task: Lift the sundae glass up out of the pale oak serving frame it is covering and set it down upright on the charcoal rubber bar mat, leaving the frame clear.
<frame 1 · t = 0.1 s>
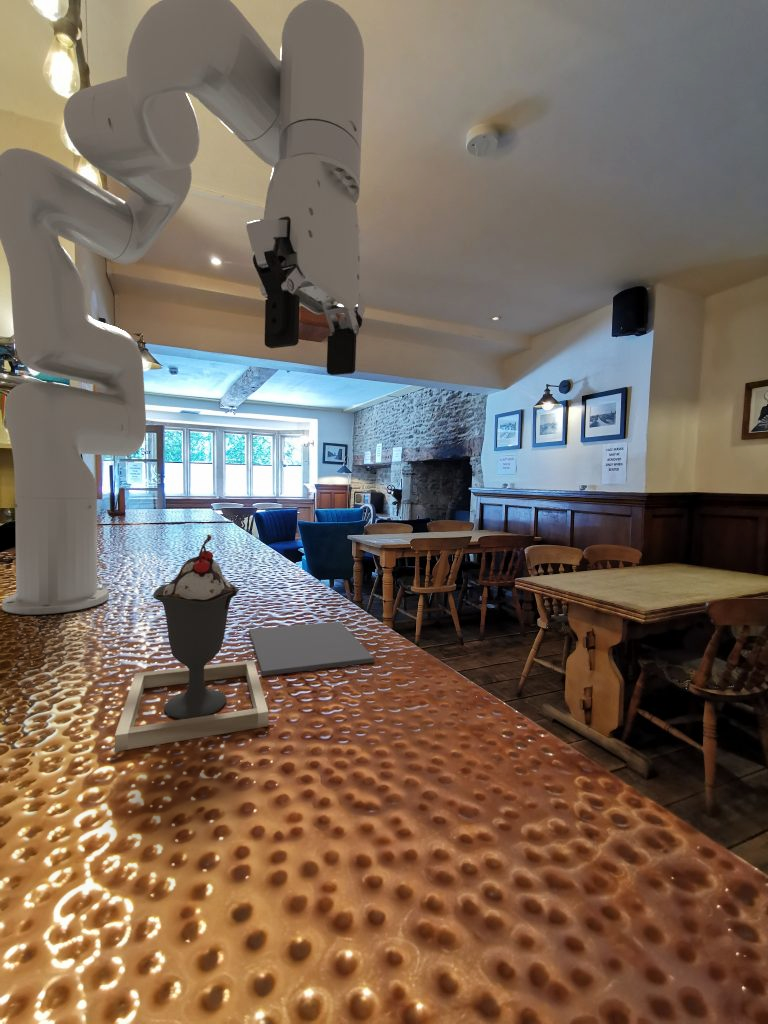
hand: (314, 361, 42), 31 cm above the worktop, tool pointing down, fingers open, 9 cm apart
sundae: (196, 706, 38), resting in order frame
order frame: (196, 704, 38), on the worktop
bar mat: (307, 646, 52), on the worktop
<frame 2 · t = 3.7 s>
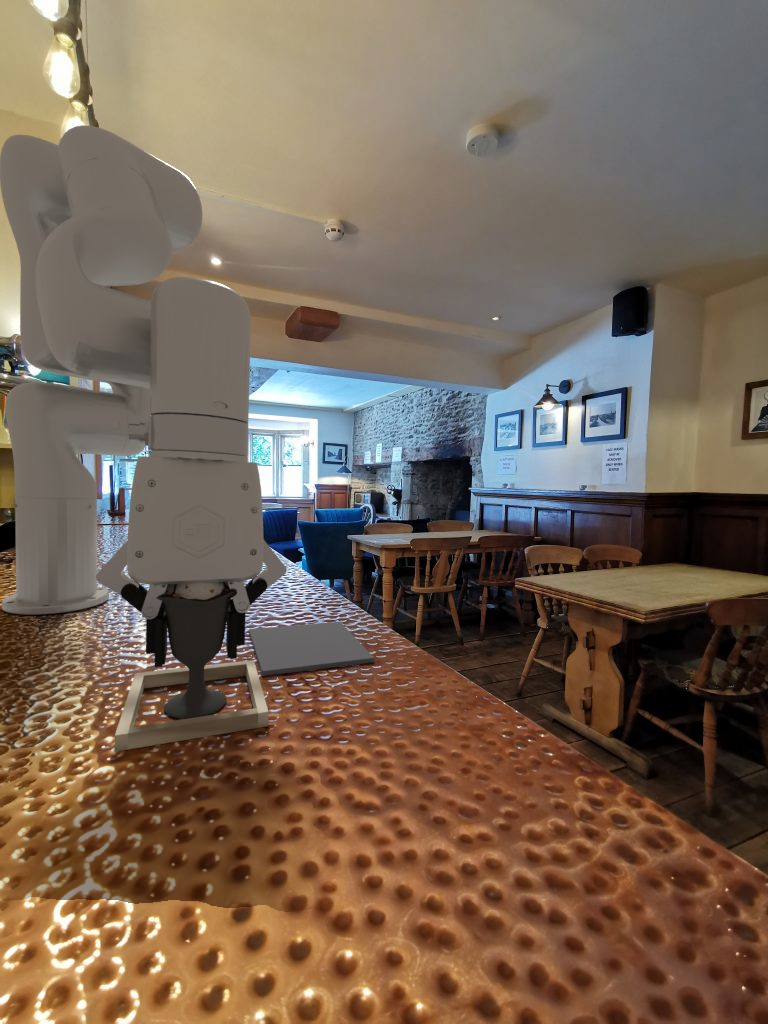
hand: (197, 654, 38), 4 cm above the worktop, tool pointing down, fingers closed on sundae, 4 cm apart
sundae: (196, 706, 38), resting in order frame, touching gripper
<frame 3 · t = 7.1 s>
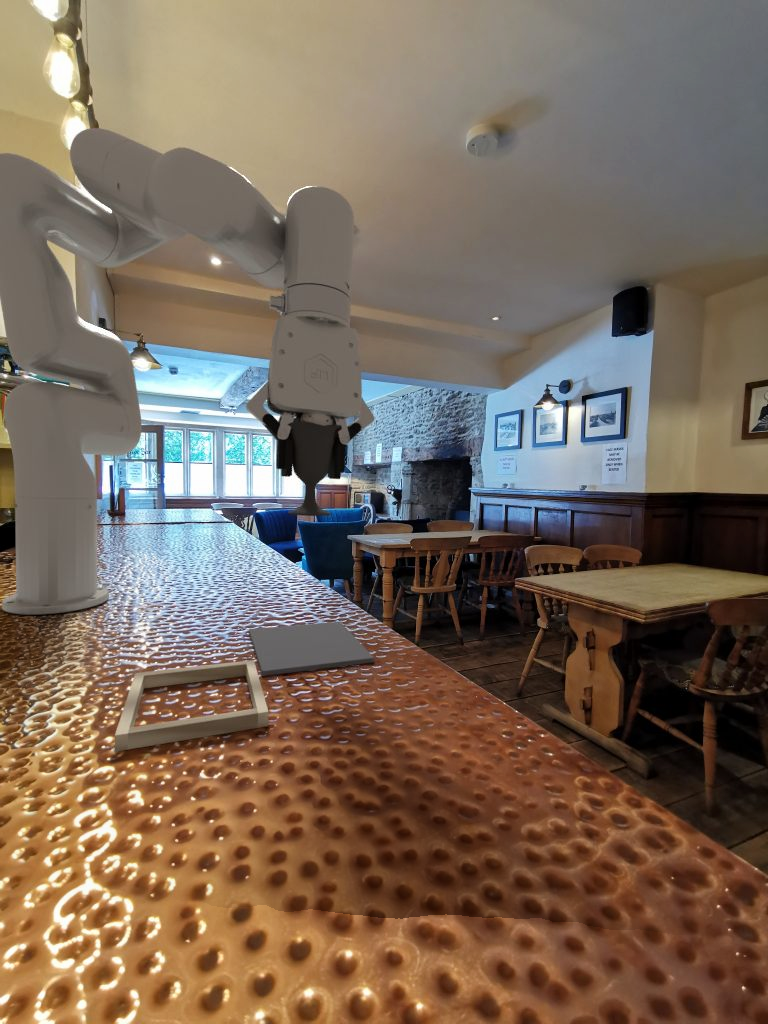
hand: (310, 476, 51), 20 cm above the worktop, tool pointing down, fingers closed on sundae, 4 cm apart
sundae: (310, 515, 51), point 16 cm above the worktop, touching gripper
when the fingers open (6 cm above the worktop, at t = 10.6 s): sundae drops 1 cm, resting on bar mat.
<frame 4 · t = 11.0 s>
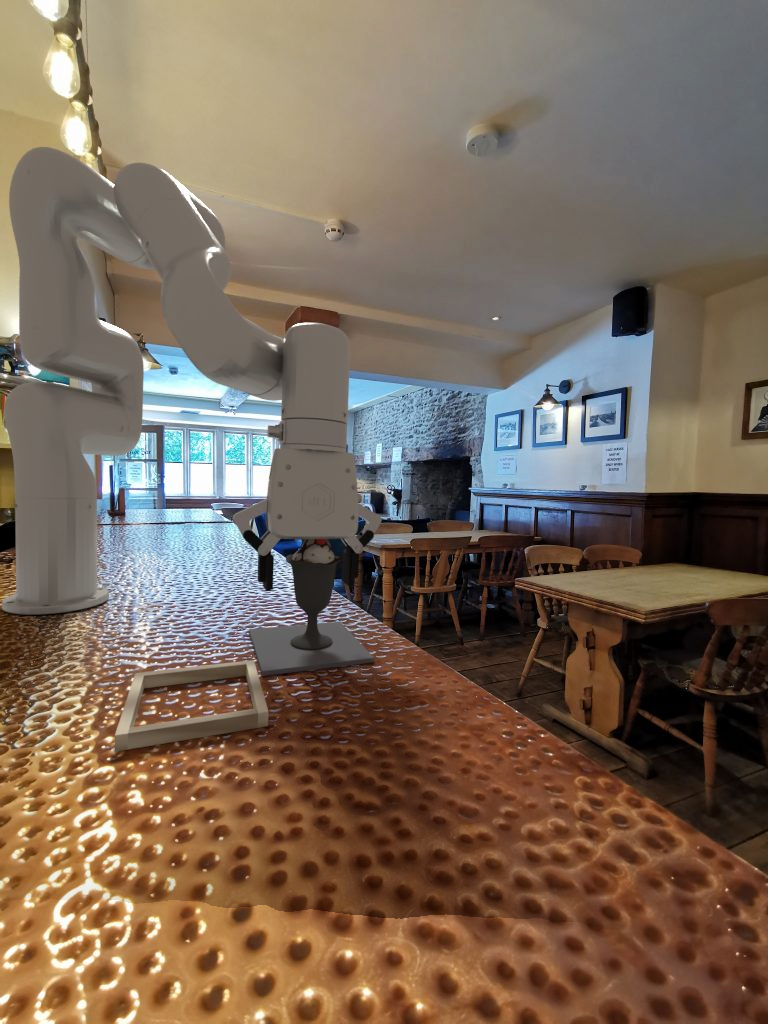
hand: (309, 586, 52), 7 cm above the worktop, tool pointing down, fingers open, 9 cm apart
sundae: (312, 643, 52), resting on bar mat
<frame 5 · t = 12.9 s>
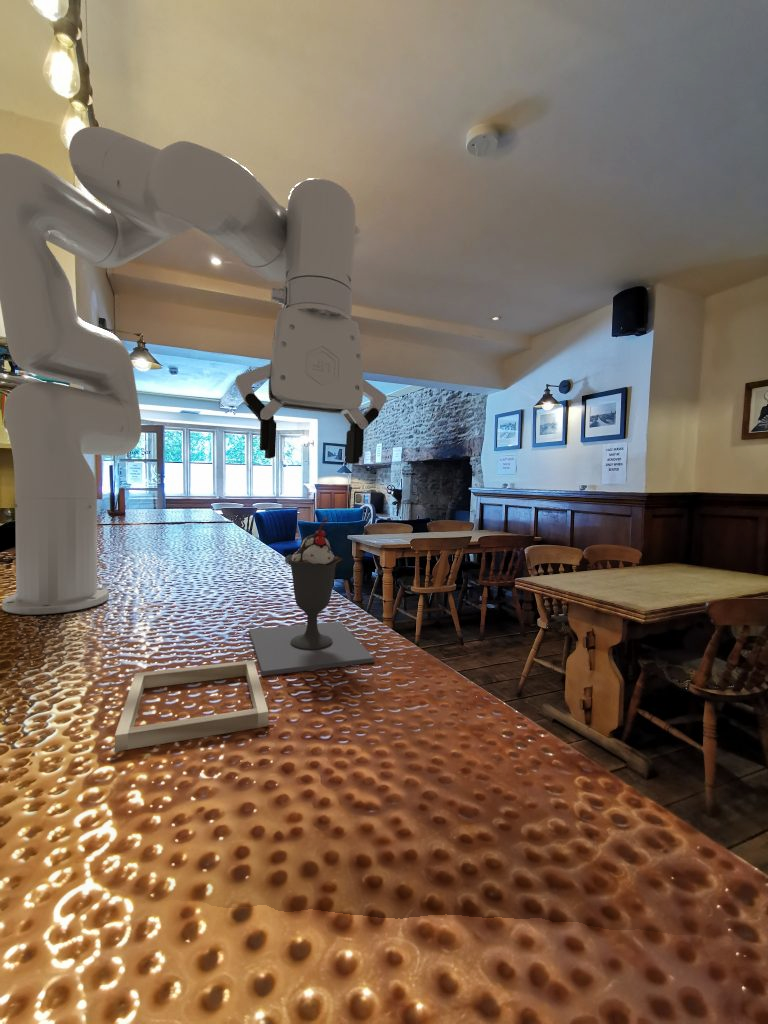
hand: (312, 460, 51), 22 cm above the worktop, tool pointing down, fingers open, 9 cm apart
nothing on the worktop moved.
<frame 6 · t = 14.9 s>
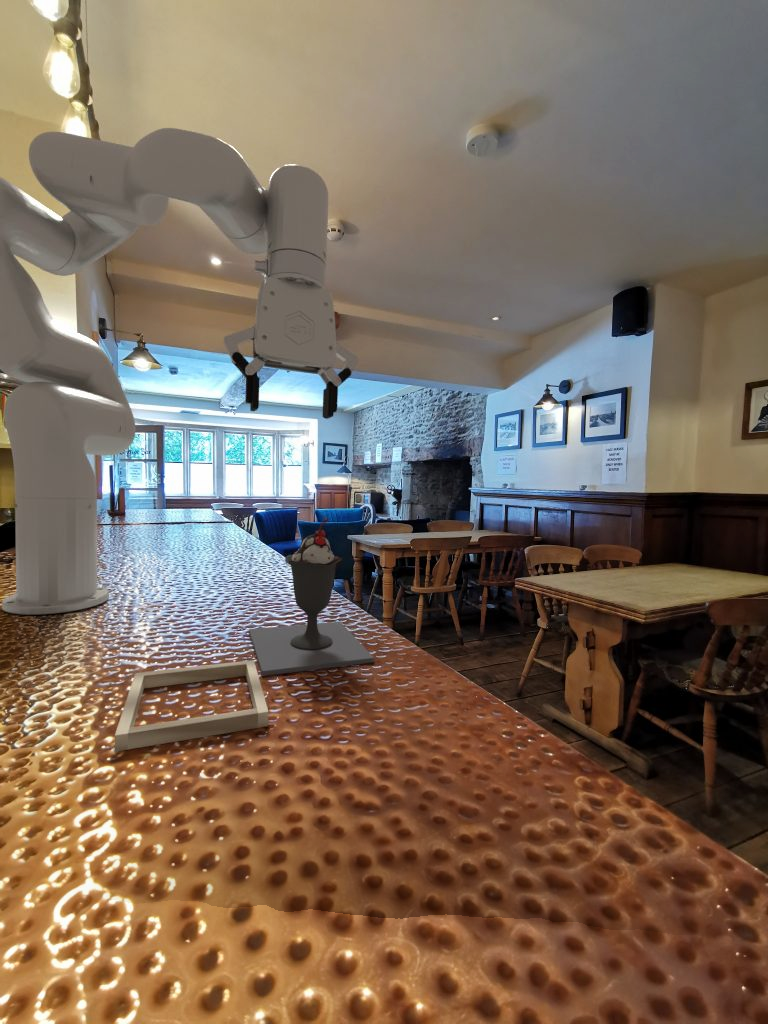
hand: (292, 413, 58), 28 cm above the worktop, tool pointing down, fingers open, 9 cm apart
nothing on the worktop moved.
at the end: sundae inside the target area on the bar mat (0.5 cm from its centre), point 0.3 cm above the bar mat's base; sundae tilted 0°; the gripper is holding nothing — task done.
